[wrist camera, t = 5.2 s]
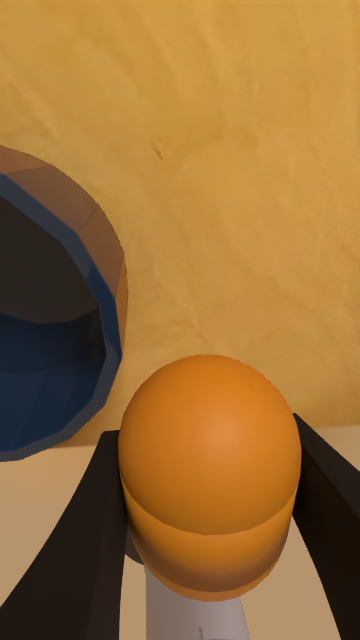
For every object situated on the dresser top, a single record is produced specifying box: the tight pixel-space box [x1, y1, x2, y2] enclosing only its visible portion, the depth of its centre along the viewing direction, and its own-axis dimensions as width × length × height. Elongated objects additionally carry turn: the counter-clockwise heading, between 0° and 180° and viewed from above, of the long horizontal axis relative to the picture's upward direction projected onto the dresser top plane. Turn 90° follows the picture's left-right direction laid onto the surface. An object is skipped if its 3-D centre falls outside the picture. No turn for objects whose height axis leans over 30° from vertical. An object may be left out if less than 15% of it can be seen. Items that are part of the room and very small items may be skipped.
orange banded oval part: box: [118, 355, 302, 602], centre depth 10 cm, size 7×5×5 cm
